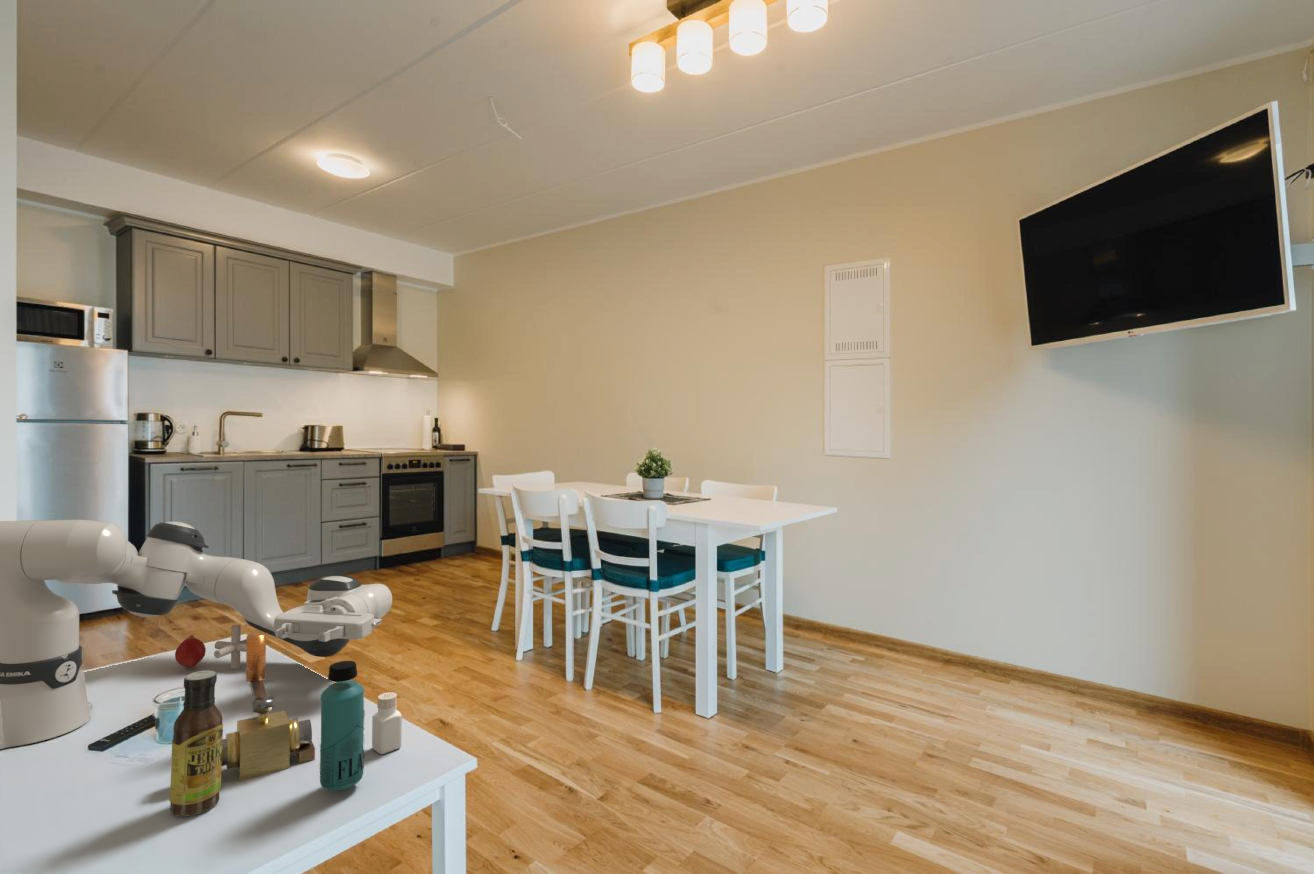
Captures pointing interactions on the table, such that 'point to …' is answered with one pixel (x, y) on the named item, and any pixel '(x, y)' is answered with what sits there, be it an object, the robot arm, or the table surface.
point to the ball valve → (267, 744)
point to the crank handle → (257, 672)
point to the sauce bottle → (197, 748)
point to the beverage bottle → (342, 728)
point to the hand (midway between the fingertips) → (300, 636)
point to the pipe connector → (232, 647)
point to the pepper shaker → (386, 724)
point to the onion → (190, 652)
